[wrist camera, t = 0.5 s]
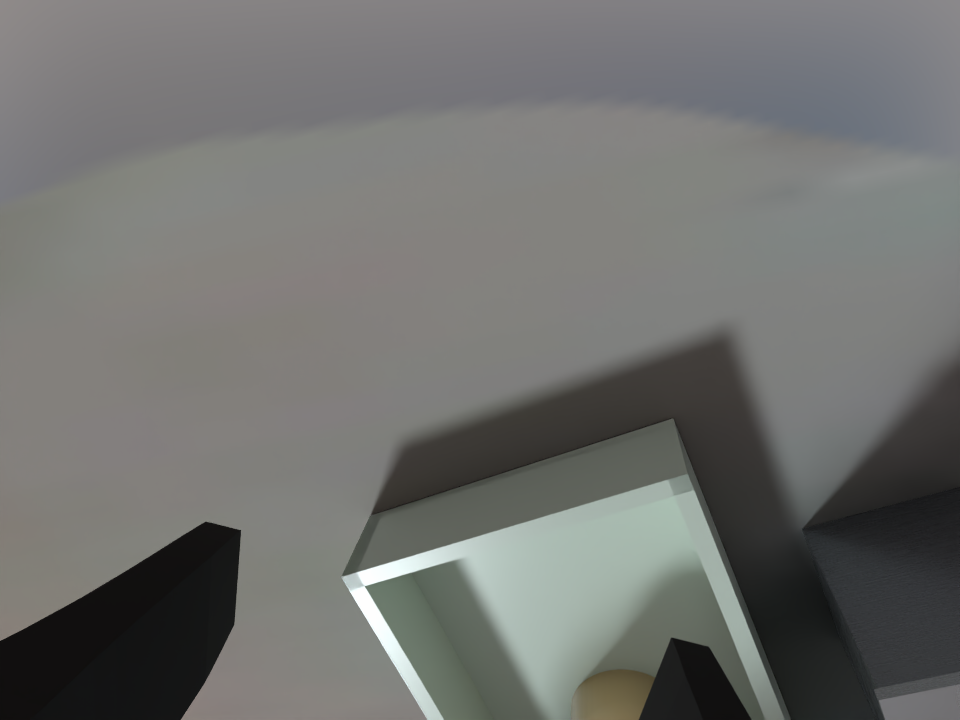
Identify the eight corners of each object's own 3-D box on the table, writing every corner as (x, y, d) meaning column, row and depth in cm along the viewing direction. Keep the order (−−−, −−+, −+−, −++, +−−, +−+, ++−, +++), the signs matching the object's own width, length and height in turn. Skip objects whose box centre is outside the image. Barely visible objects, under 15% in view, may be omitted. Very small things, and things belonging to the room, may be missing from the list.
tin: (997, 606, 21) (1153, 808, 15) (837, 642, 22) (926, 841, 17) (965, 481, 20) (1123, 651, 14) (797, 526, 21) (878, 700, 15)
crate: (799, 739, 24) (826, 826, 21) (527, 790, 27) (521, 873, 24) (673, 418, 20) (687, 473, 17) (370, 515, 23) (341, 577, 20)
